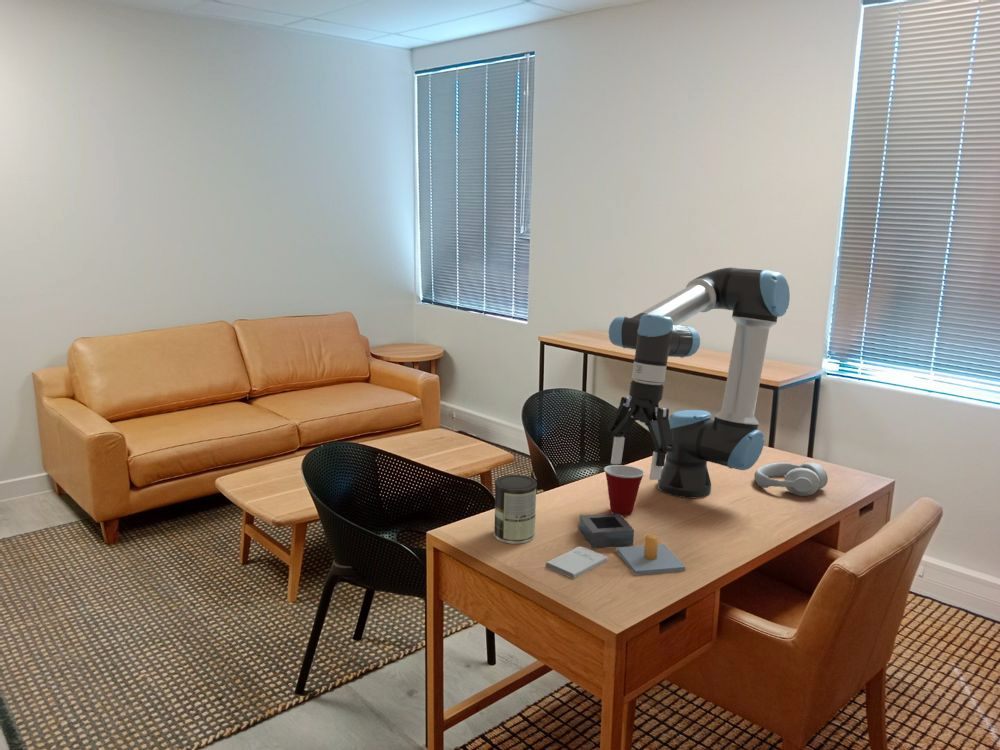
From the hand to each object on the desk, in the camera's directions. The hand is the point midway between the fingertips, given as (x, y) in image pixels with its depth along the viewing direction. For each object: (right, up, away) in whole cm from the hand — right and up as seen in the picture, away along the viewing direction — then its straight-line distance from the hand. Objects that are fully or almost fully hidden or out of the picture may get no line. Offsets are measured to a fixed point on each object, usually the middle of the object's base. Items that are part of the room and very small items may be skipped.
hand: (634, 471), depth 182 cm
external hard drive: (-14, -22, -3) cm, 26 cm away
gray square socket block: (-5, -18, +11) cm, 22 cm away
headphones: (+54, -11, +49) cm, 74 cm away
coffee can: (-28, -18, +11) cm, 35 cm away
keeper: (+3, -21, -1) cm, 21 cm away
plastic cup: (+1, -14, +28) cm, 31 cm away
